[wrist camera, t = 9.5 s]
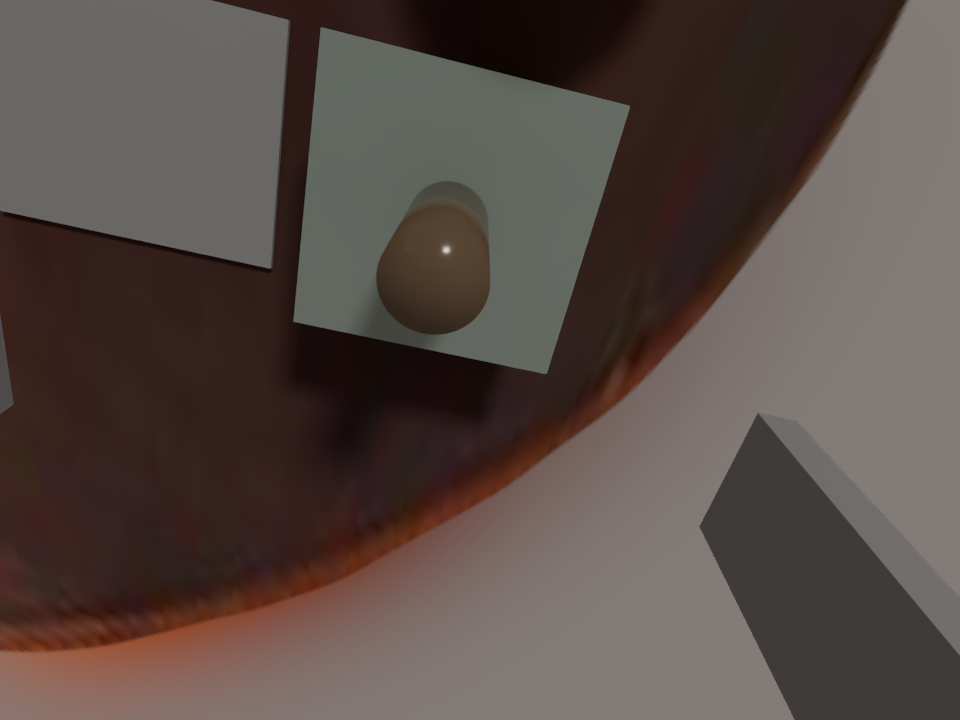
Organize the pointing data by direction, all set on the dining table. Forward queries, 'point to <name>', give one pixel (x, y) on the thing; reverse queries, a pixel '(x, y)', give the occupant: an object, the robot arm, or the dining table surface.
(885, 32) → the dining table surface
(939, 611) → the robot arm
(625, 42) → the dining table surface
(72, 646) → the dining table surface
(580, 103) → the lid
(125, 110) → the mat
